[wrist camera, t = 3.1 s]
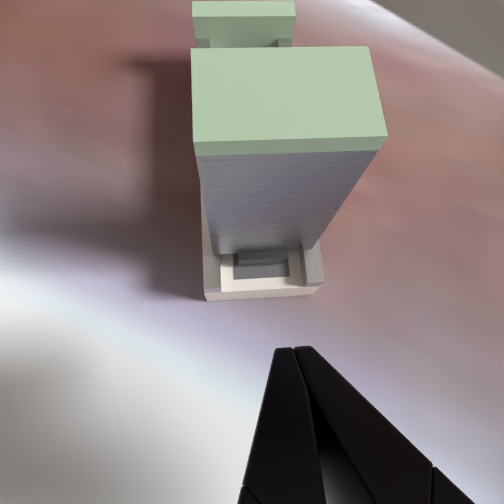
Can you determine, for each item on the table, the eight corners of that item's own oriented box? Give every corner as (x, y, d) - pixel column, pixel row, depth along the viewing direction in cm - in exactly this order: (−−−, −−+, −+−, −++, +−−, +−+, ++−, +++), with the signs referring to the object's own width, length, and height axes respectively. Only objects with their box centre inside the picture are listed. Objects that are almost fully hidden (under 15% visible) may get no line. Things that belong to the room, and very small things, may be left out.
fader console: (311, 294, 17) (333, 274, 13) (207, 301, 17) (199, 282, 13) (282, 65, 21) (293, 1, 18) (199, 67, 21) (191, 1, 17)
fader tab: (308, 262, 15) (390, 148, 7) (214, 267, 15) (193, 155, 7) (300, 198, 16) (366, 36, 8) (211, 202, 16) (190, 37, 8)
